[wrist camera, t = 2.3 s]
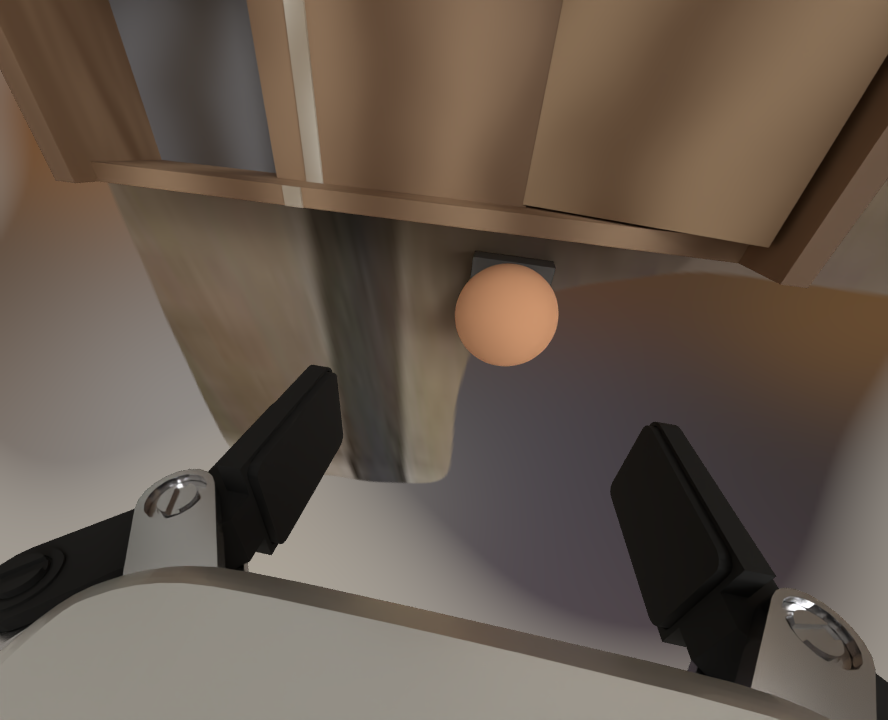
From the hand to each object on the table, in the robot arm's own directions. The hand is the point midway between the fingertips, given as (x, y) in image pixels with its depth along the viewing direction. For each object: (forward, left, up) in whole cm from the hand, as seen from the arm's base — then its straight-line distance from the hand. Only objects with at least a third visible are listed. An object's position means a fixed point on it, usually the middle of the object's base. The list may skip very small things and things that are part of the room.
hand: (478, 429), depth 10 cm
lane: (+5, -9, -11) cm, 15 cm away
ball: (-1, 0, -8) cm, 8 cm away
